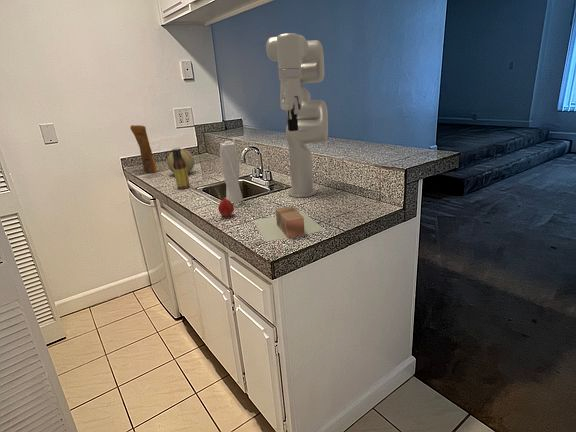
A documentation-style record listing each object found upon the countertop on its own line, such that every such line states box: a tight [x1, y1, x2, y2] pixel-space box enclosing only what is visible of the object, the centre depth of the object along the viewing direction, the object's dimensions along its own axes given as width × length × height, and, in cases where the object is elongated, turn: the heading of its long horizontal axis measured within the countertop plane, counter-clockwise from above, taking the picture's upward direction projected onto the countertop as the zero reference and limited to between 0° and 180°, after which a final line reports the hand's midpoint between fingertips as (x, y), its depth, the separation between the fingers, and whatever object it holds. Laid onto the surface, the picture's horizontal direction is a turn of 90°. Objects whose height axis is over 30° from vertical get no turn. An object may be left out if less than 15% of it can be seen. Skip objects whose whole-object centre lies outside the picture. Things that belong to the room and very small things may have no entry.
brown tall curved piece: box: [129, 124, 158, 174], centre depth 215 cm, size 7×19×28 cm, turn 39°
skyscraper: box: [219, 137, 244, 206], centre depth 149 cm, size 8×8×28 cm
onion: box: [218, 197, 235, 218], centre depth 136 cm, size 6×6×8 cm
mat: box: [252, 211, 325, 243], centre depth 126 cm, size 20×20×1 cm
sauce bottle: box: [171, 147, 190, 190], centre depth 177 cm, size 7×6×20 cm
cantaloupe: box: [166, 148, 195, 174], centre depth 205 cm, size 15×15×15 cm
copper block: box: [275, 205, 306, 239], centre depth 121 cm, size 6×6×12 cm
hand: (293, 130), depth 126 cm, fingers closed
